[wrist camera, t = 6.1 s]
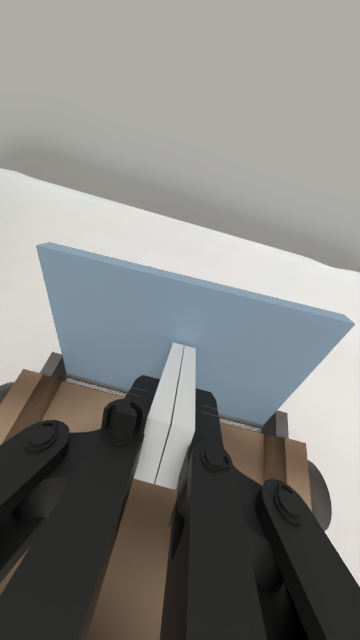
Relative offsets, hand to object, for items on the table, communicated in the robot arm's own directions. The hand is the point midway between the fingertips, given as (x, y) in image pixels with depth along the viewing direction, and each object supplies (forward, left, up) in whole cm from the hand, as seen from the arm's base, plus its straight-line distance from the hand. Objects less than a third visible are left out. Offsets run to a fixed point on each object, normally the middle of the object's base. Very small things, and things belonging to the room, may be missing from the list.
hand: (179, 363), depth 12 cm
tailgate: (+1, -1, -6) cm, 6 cm away
